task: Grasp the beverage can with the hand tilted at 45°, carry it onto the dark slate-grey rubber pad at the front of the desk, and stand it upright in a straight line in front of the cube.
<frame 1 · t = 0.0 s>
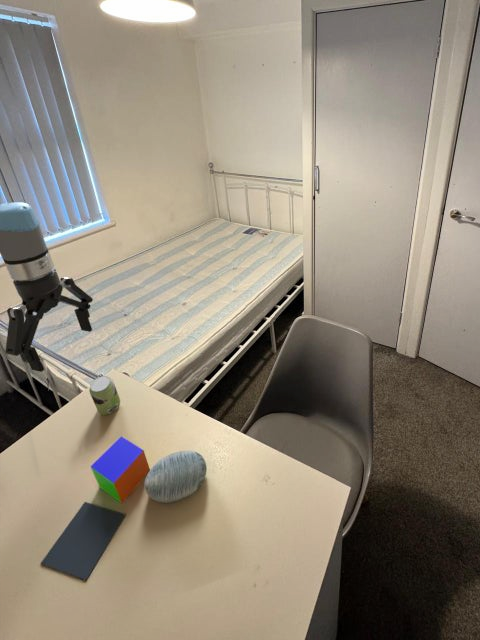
hand: (64, 348, 78), 30 cm above the table, tool pointing down, fingers open, 13 cm apart
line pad: (85, 538, 68), on the table
beverage can: (110, 409, 97), on the table
grey yarn skein: (179, 486, 78), on the table
cube: (125, 478, 79), on the table
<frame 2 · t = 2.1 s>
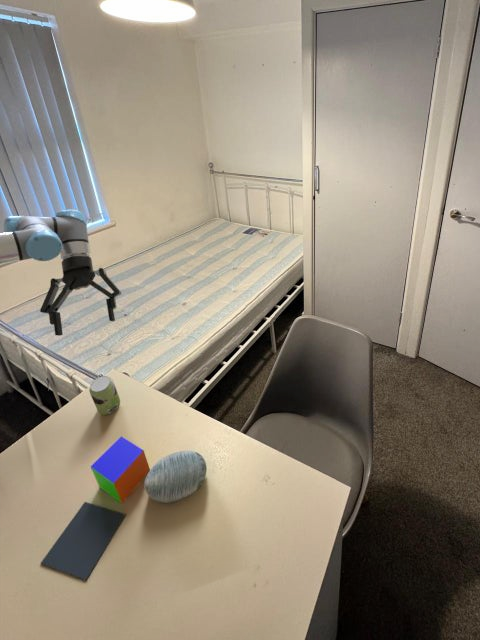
hand: (86, 327, 92), 25 cm above the table, tool tilted 40°, fingers open, 13 cm apart
nothing on the table moved.
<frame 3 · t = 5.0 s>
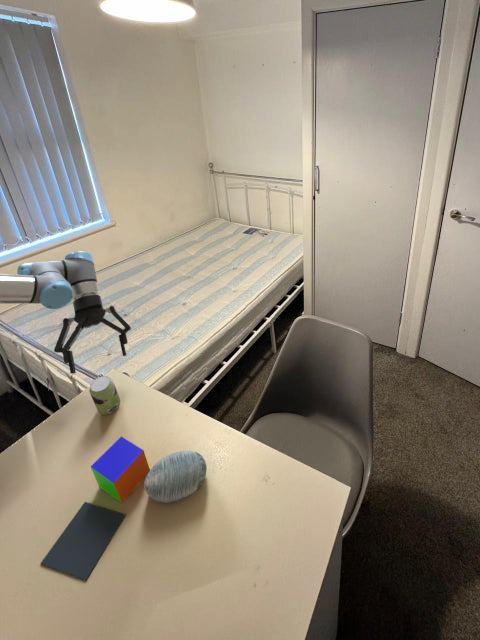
hand: (99, 364, 97), 12 cm above the table, tool tilted 45°, fingers open, 13 cm apart
nothing on the table moved.
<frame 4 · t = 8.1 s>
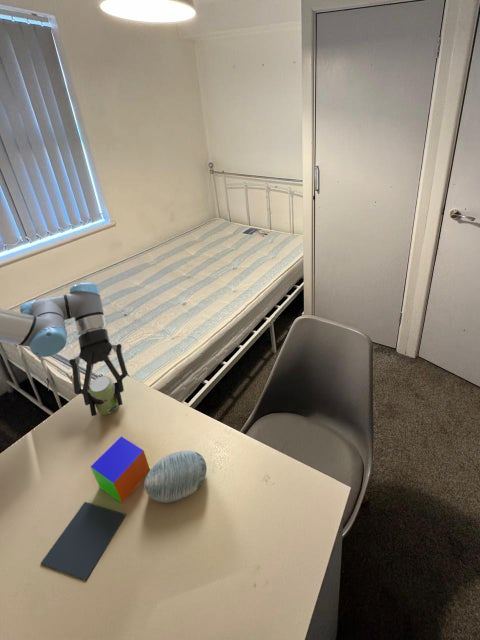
hand: (107, 410, 92), 4 cm above the table, tool tilted 45°, fingers closed on beverage can, 6 cm apart
beverage can: (110, 409, 97), on the table, touching gripper
everything else where it was.
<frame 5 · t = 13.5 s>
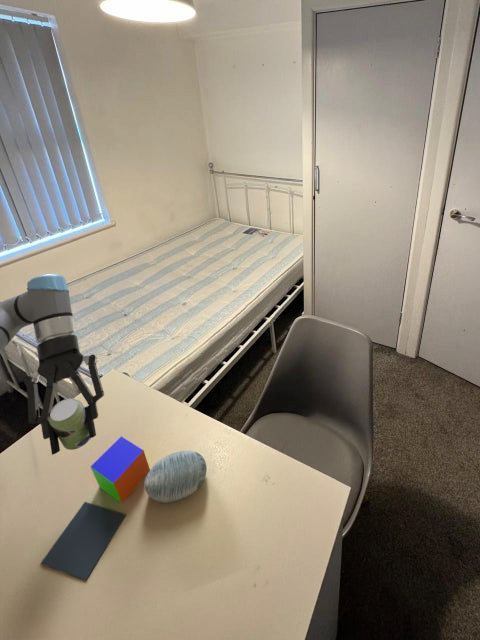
hand: (75, 444, 68), 18 cm above the table, tool tilted 45°, fingers closed on beverage can, 6 cm apart
beverage can: (80, 441, 73), point 14 cm above the table, touching gripper
everything else where it was.
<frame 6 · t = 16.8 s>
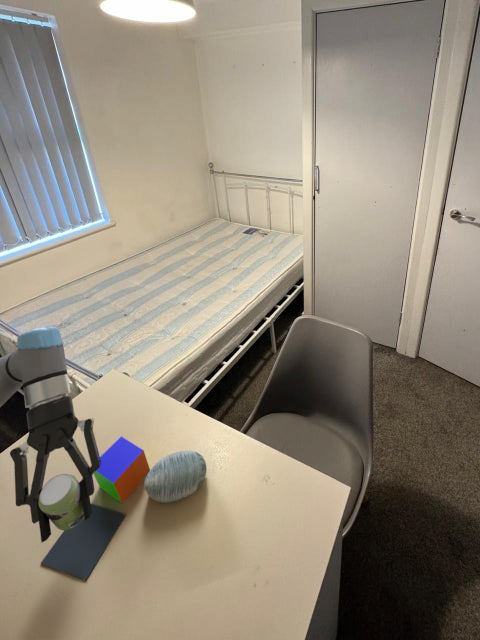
hand: (68, 526, 61), 12 cm above the table, tool tilted 45°, fingers closed on beverage can, 6 cm apart
beverage can: (74, 518, 65), point 8 cm above the table, touching gripper
everything else where it was.
when the fingers open (4 cm above the table, at t = 19.3 s): beverage can stays where it is, resting on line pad.
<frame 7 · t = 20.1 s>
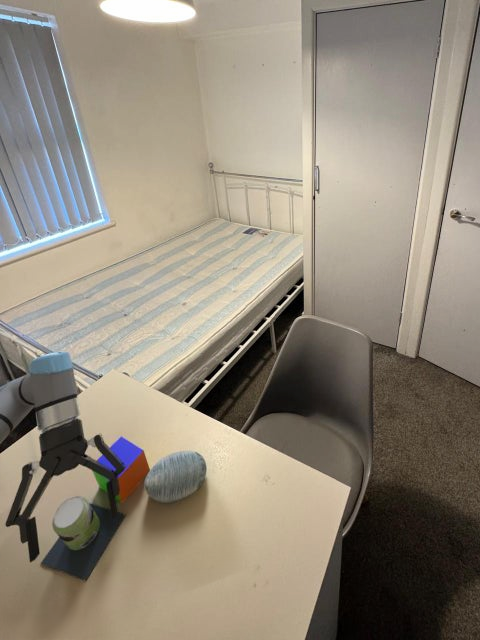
hand: (77, 535, 64), 6 cm above the table, tool tilted 45°, fingers open, 13 cm apart
beverage can: (85, 537, 68), resting on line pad
everything else where it was.
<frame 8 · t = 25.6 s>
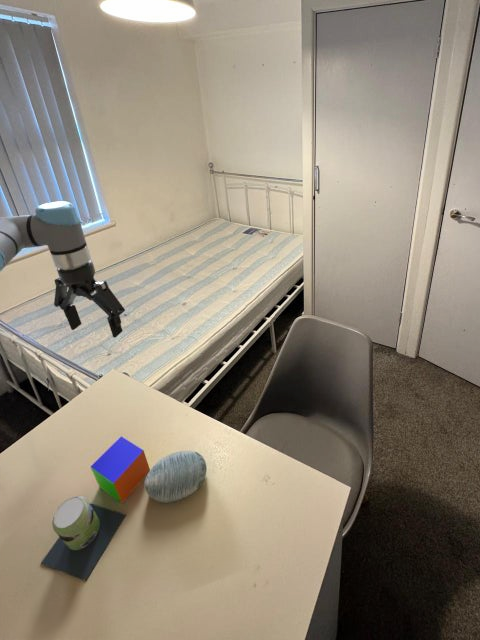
hand: (97, 330, 89), 27 cm above the table, tool pointing down, fingers open, 13 cm apart
nothing on the table moved.
at the end: beverage can 0.0 cm off-centre on the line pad, point 0.1 cm above the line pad's base; beverage can tilted 0°; beverage can 0.0 cm from the target spot on the table beside the cube, resting on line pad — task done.
